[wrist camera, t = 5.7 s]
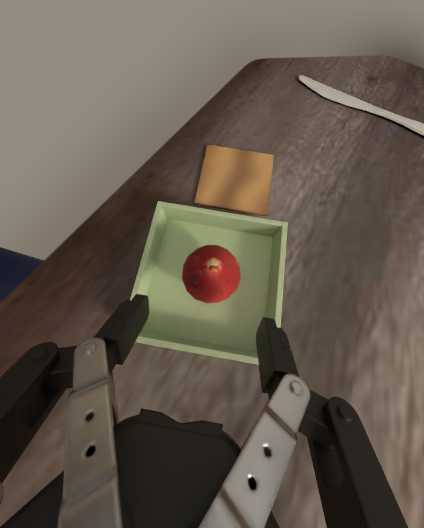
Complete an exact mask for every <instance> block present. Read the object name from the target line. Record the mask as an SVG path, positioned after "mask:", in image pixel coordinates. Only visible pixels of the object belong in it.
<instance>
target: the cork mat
mask: <svg viewBox="0 0 424 528" xmlns="http://www.w3.org/2000/svg"><path fill="white" fill-rule="evenodd" d="M273 158H274V155H270V154H264V153H257V152H251V151H245V150H238V149H232V148H226V147H219V146H213V145H207V148H206V153H205V157H204V162H203V166H202V170H201V175H200V179H199V184H198V188H197V193H196V197H195V202H194V204H197V205H203V206H209V207H215V208H221V209H227V210H233V211H239V212H245V213H251V214H258V215H264V216H267V215H268V206H269V196H270V187H271V177H272V167H273Z"/></svg>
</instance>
